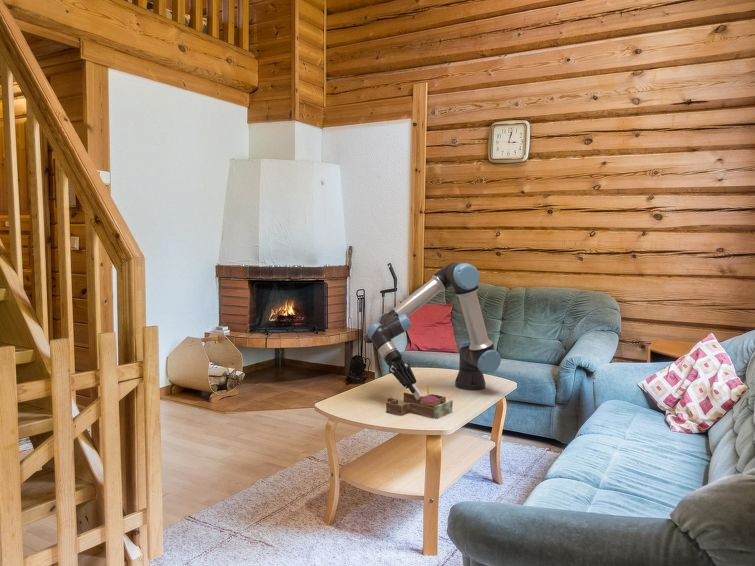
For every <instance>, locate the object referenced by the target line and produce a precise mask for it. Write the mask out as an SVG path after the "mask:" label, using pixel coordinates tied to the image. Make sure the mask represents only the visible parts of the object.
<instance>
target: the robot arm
mask: <svg viewBox="0 0 755 566" xmlns="http://www.w3.org/2000/svg"><path fill="white" fill-rule="evenodd" d="M480 279H481V278H480V273H479V271H478V269H477V268H476V267H475V266H474V265H473V264H470V263H467V262H457V261H455V262H450V263H448V264H446V265H444V266H443V267H442V268H440V269H439V270H438V271H436V272H435V273H434V274H433V275H432V276H431V279H430V280H428V281H427V282H426V283H424V284H423V285H422V286H421V287H419V288H418V289H416V290H415V291H414V292H413V293H412V294H410V295H409V296H407V297H406V298H405V299H404V300H403V301H401V302H400V303H399V304H398V305H395V307H393V308H392V309H391V310H389V311H388V312H386V313H385V312H384V313H382V314H380V316H379V317H378V319H377V320H378V322H376V323H373V324H371V325H370V326H369V327H368V328H367V330H366V334H367V335H368V337H369V339H370V341H371V343H372V344H373V345H374V347H375V348H376V349H377V351H378V352H379V355H380V356H381V357H382V358H383V360H384V362H385V364H386V365H387V366H389V367H390V369H388V372H389V373H390V374H392V375H393V376H394V377H395V378H396V380H397V381H398V382H399V383H400V384H401V385H402V387H403V388H405V389H408V390H409V391H410V393H411V394H413V395H414V397H415V398H416V400H419V399H420V398H421V397H422V396H423V394H422V392H420V389H419V388H418V387H417V385H416V383H417V382H418V381H417V379H416V376H415V374H414V372H413V370H412V368H411V364H410V363H405V361H404V360H402V357H403V355H402V354H401V353H400V351H399V350H398V347H396V345H395V344H394V342H393V341H392V340H393V339H394V338H396V337H398V336H400V335H401V334H404V333H405V332H407V331H409V330H410V329H411V328H412V323H411V321H410V318H409V317H410V316H411V315H412V314H414V313H415V312H417V311H418V310H419V309H420V308H421V307H423V306H424V305H426V304H427V303H428V302H429V301H431V300H432V299H433V298H435V296H437V295H438V294H439V293H441V292H445V291H447V290H448V289H450V288H452V289H453V293H454V295H455V296H456V297H458V299H459V303H460V306H461V310H462V315H463V318H464V321H465V322H464V323H465V325H466V329H467V333H468V337H469V340H466V341H465V340H464V341H461V342H460V344H459V345H460V346H459V366H458V367H459V369H458V373H457V375H456V378H455V382H454V386H455V387H456V388H459V389H463V390H468V389H469V390H468V391H470V390H473V391H480V390H484V389H485V388H486V383H487V382H486V380H485V376H484V374H493V373H494V372H496V371H497V370H498V369H499V366H501V363H502V362H501V361H502V357H501V355H500V353H499V352H498V351H497V350H496V348H495V346H494V342H493V341H492V340H490V339H489V336H488V332H487V327H486V324H485V320H484V316H483V313H482V307H481V304H480V301H479V297H478V293H477V292H478V291H479V289H480V288H479V282H480Z"/></svg>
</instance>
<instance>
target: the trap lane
mask: <svg viewBox="0 0 755 566" xmlns="http://www.w3.org/2000/svg"><path fill="white" fill-rule="evenodd" d="M429 395H430V396H436V397H437V398H438V399H440V404H439V405H437V406H434V408H431V407H427V406H423V405H421V404H420V400H421V398H422V397H424V395H422V397H421V398H420V399H419V400H416V398H415V397H414V395H413V394H412V393H410V392H409V393H408V392H403V398H402V399H403V402H404V403H403V404H401V405H399V399H397V398H391V397H387V401H386V403H385V404H386V406H385V408H386V409H385V410H386V411H385V412H386V413H387V414H392V415H395V416H402V417H403V416H404V415H408V414H414V415H418V416H422V417H427V418H430V419H434V418H435V419H434V420H436V418H437V419H439V418H442V417H444V416H447V415H449V414H451V412H452V413H453V403H454V401H453V400H448V401H447V397H446V396H443V395H439V394H435V393H429ZM446 414H447V415H446ZM441 416H442V417H441Z"/></svg>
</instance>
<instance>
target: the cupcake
mask: <svg viewBox="0 0 755 566" xmlns="http://www.w3.org/2000/svg"><path fill="white" fill-rule="evenodd" d="M426 388H427V389H426V391H427V393H426V394H427V395H423V397H422V398H421V400H420V404H421V405H423V406H427V407H431V408H434V406H437V405H439V404H440V399H438V398H437V397H436V396H430V395H429V394H430V389H429V384H428V383H426Z"/></svg>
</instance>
